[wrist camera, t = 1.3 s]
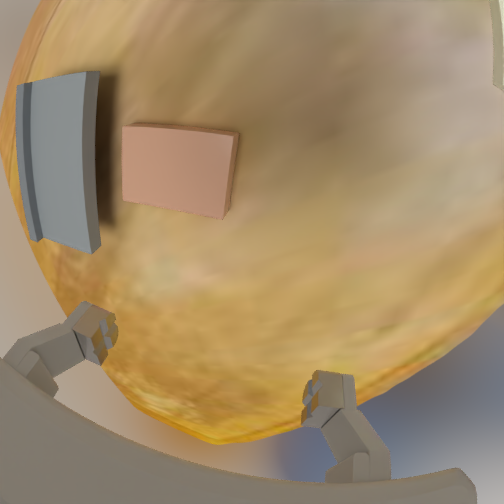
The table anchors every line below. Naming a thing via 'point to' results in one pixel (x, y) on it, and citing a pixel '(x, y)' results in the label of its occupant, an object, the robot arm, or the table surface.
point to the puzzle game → (498, 41)
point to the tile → (179, 167)
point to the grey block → (59, 158)
